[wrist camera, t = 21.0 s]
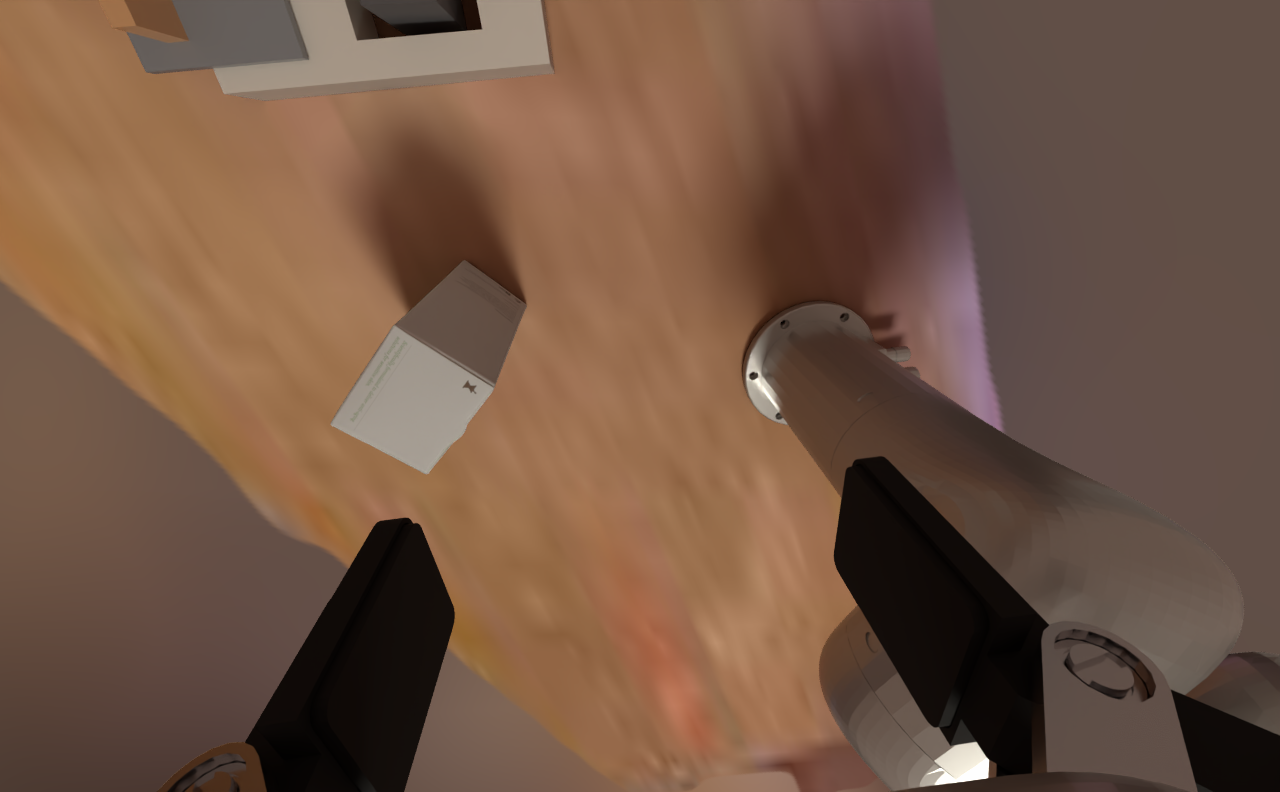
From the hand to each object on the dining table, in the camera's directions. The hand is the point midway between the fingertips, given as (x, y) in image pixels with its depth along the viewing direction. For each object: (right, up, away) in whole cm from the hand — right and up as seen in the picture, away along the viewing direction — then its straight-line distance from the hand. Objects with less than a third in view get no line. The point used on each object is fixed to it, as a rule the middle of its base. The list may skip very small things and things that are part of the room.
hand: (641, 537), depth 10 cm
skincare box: (-14, +10, +30) cm, 35 cm away
